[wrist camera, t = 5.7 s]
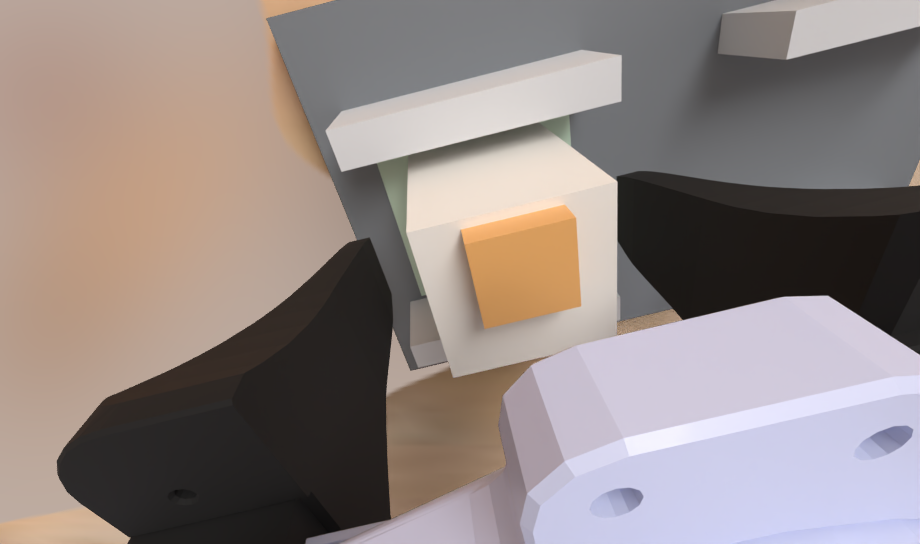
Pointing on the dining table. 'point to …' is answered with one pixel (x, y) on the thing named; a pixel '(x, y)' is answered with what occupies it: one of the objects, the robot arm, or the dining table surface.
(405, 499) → the dining table surface
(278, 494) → the robot arm
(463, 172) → the plug
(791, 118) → the panel
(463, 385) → the dining table surface
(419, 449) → the dining table surface
